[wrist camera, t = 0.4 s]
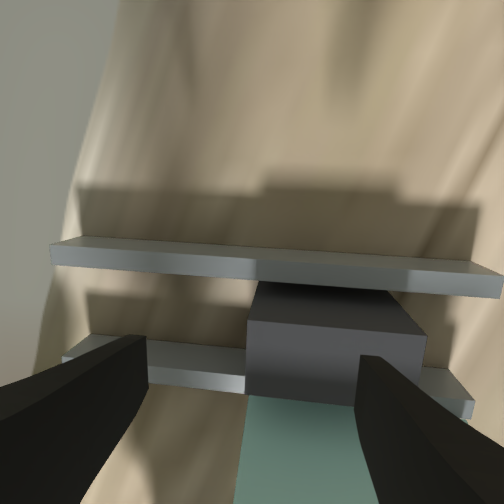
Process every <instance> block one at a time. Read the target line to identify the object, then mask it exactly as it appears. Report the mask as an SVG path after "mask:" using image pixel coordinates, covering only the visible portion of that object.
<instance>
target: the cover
mask: <svg viewBox="0 0 504 504" xmlns="http://www.w3.org/2000/svg"><path fill="white" fill-rule="evenodd" d="M461 420H462V421H464V422H465V423H467V421H466V420H464V419H461ZM467 424H468V423H467ZM233 504H379V502H378V499H377V496H376V492H375V489H374V486H373V483H372V480H371V477H370V473H369V470H368V467H367V464H366V461H365V457H364V454H363V451H362V448H361V444H360V441H359V436H358V431H357V426H356V420H355V414H354V407H350V406H341V405H332V404H323V403H314V402H306V401H297V400H288V399H279V398H270V397H262V396H253V395H249V398H248V405H247V412H246V419H245V426H244V432H243V439H242V446H241V453H240V460H239V466H238V473H237V480H236V487H235V494H234V501H233Z"/></svg>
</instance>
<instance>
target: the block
mask: <svg viewBox="0 0 504 504" xmlns="http://www.w3.org/2000/svg"><path fill="white" fill-rule="evenodd" d="M426 342H427V335H426V334H425V333H424V332H423V330H422V329H421V328H420V327H419V326H418V325H417V324H416V323H415V321H414V320H413V319H412V318H411V317H410V316H409V315H408V314H407V312H406V311H405V310H404V309H403V308H402V307H401V306H400V304H399V303H398V302H397V301H396V300H395V299H394V298H393V297H392V295H391V294H390V293H389V292H388V291H387V290H376V289H363V288H350V287H337V286H323V285H310V284H297V283H284V282H271V281H259V282H258V286H257V289H256V292H255V296H254V299H253V303H252V306H251V309H250V313H249V316H248V320H247V341H246V366H245V390H244V394H245V395H253V396H262V397H271V398H280V399H289V400H297V401H306V402H315V403H324V404H333V405H341V406H350V407H354V403H355V395H356V386H357V378H358V370H359V361H360V355H371V356H380V357H382V358H383V359H385V360H386V361H387V362H388V363H390V364H391V365H392V366H393V367H394V368H396V369H397V370H398V371H399V372H400V373H402V374H403V375H404V376H405V377H406V378H408V379H409V380H410V381H411V382H413V383H414V384H415V385H416V386H417V387H418V384H419V379H420V374H421V368H422V363H423V358H424V352H425V347H426Z"/></svg>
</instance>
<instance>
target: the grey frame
mask: <svg viewBox="0 0 504 504" xmlns="http://www.w3.org/2000/svg"><path fill="white" fill-rule="evenodd" d="M49 247H50V256H51V264H52V265H60V266H73V267H87V268H100V269H113V270H126V271H139V272H152V273H166V274H179V275H192V276H205V277H218V278H231V279H245V280H258V281H271V282H284V283H297V284H310V285H323V286H337V287H350V288H363V289H376V290H389V291H402V292H416V293H429V294H442V295H455V296H468V297H481V298H495V299H500V295H501V291H502V287H503V283H504V276H503V275H501V274H499V273H497V272H494V271H492V270H490V269H488V268H485V267H483V266H481V265H479V264H476V263H474V262H472V261H461V260H445V259H430V258H415V257H399V256H384V255H369V254H353V253H338V252H323V251H307V250H292V249H277V248H261V247H246V246H231V245H215V244H200V243H185V242H169V241H154V240H139V239H123V238H108V237H93V236H80V237H76V238H73V239H69V240H65V241H61V242H58V243H54V244H51V245H49ZM118 338H121V337H118V336H107V335H97V334H90V335H88V336H87V337H86V338H85V339H83V340H82V341H81V342H79V343H78V344H77V345H76V346H74V347H73V348H72V349H70V350H69V351H68V352H67V353H65V354H64V355H63V356H61V357H62V363H64V362H67V361H69V360H71V359H74V358H76V357H78V356H80V355H82V354H85V353H87V352H89V351H91V350H94V349H96V348H98V347H100V346H102V345H105V344H107V343H109V342H111V341H114V340H116V339H118ZM146 343H147V363H148V383H153V384H162V385H171V386H179V387H188V388H197V389H206V390H215V391H224V392H232V393H241V394H244V390H245V366H246V349H239V348H229V347H219V346H209V345H199V344H189V343H178V342H168V341H158V340H148V339H146ZM418 387H419V388H420V389H421V390H422V391H424V392H425V393H426V394H427V395H429V396H430V397H431V398H433V399H434V400H435V401H436V402H438V403H439V404H440V405H442V406H443V407H444V408H446V409H447V410H449V411H450V412H451V413H453V414H454V415H455V416H457V417H458V418H462V419H471V417H472V413H473V409H474V405H475V400H474V399H473V398H472V396H471V395H470V394H469V393H468V392H467V391H466V389H465V388H464V387H463V386H462V385H461V383H460V382H459V381H458V380H457V379H456V378H455V376H454V375H453V374H452V373H451V372H450V370H449V369H442V368H432V367H422V368H421V374H420V379H419V384H418ZM270 398H271V397H270Z"/></svg>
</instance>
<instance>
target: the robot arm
mask: <svg viewBox="0 0 504 504" xmlns="http://www.w3.org/2000/svg"><path fill="white" fill-rule="evenodd" d="M148 389H149V384H148V363H147V343H146V336H140V335H127V336H124V337H121V338H118V339H116V340H114V341H111V342H109V343H107V344H105V345H102V346H100V347H98V348H96V349H94V350H91V351H89V352H87V353H85V354H82V355H80V356H78V357H76V358H74V359H71V360H69V361H67V362H64V363H62V364H59V365H57V366H55V367H52V368H50V369H48V370H45V371H43V372H40V373H38V374H35V375H33V376H30V377H28V378H25V379H22V380H19V381H17V382H14V383H11V384H8V385H5V386H2V387H0V504H80V502H81V500H82V499H83V497H84V495H85V494H86V492H87V490H88V489H89V487H90V485H91V484H92V482H93V480H94V479H95V477H96V476H97V474H98V473H99V471H100V470H101V468H102V467H103V465H104V464H105V462H106V461H107V459H108V458H109V456H110V455H111V453H112V451H113V450H114V448H115V447H116V445H117V444H118V442H119V441H120V439H121V438H122V436H123V435H124V433H125V431H126V430H127V428H128V427H129V425H130V424H131V422H132V421H133V419H134V417H135V416H136V414H137V412H138V410H139V408H140V406H141V404H142V402H143V399H144V397H145V395H146V393H147V391H148ZM354 414H355V420H356V426H357V431H358V436H359V441H360V444H361V448H362V451H363V454H364V457H365V461H366V464H367V467H368V470H369V473H370V477H371V480H372V483H373V486H374V489H375V492H376V496H377V499H378V502H379V504H504V447H502V446H501V445H499V444H497V443H496V442H494V441H493V440H491V439H490V438H488V437H486V436H485V435H483V434H482V433H480V432H479V431H477V430H475V429H474V428H473V427H471V426H470V425H468V424H467V423H465V422H464V421H462V420H461V419H460V418H458V417H457V416H455V415H454V414H453V413H451V412H450V411H449V410H447V409H446V408H444V407H443V406H442V405H440V404H439V403H438V402H436V401H435V400H434V399H433V398H431V397H430V396H429V395H427V394H426V393H425V392H424V391H422V390H421V389H420V388H419V387H417V386H416V385H415V384H414V383H413V382H411V381H410V380H409V379H408V378H406V377H405V376H404V375H403V374H402V373H400V372H399V371H398V370H397V369H396V368H394V367H393V366H392V365H391V364H390V363H388V362H387V361H386V360H385V359H383V358H382V357H380V356H371V355H360V361H359V370H358V378H357V386H356V395H355V403H354Z"/></svg>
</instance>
